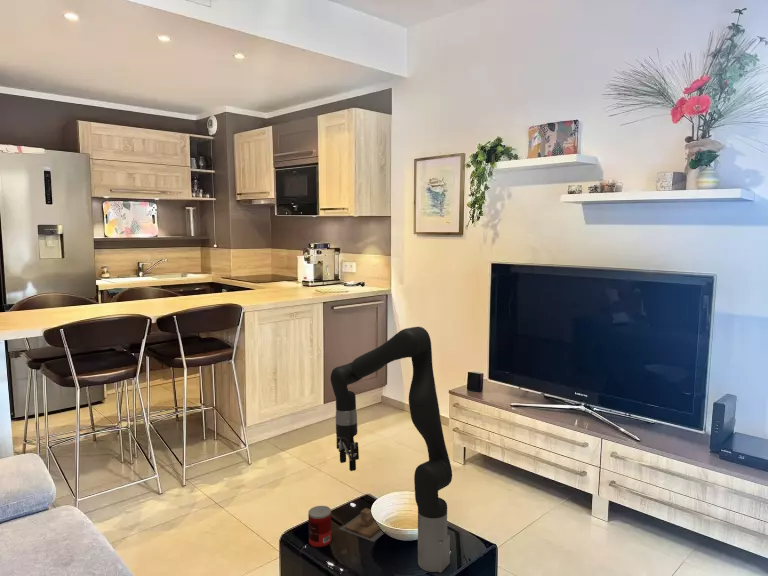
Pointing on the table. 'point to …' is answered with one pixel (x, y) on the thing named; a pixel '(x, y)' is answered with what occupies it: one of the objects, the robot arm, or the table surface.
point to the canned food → (319, 526)
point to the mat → (361, 535)
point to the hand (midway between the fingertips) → (347, 466)
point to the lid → (364, 525)
